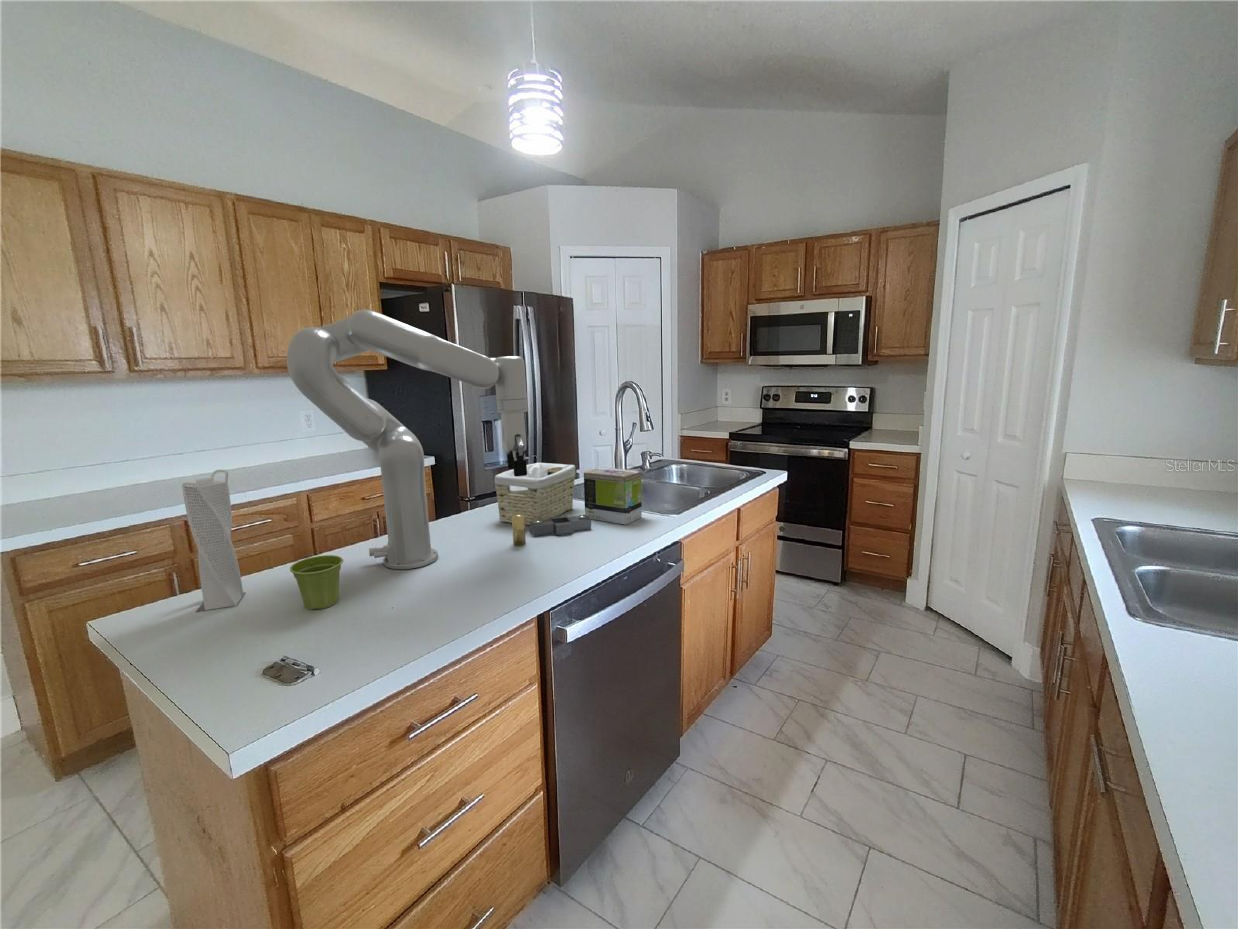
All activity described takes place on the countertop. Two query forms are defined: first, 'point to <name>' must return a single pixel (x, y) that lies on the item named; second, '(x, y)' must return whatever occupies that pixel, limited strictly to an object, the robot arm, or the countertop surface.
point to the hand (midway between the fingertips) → (517, 472)
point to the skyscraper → (213, 542)
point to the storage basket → (535, 492)
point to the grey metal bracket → (560, 525)
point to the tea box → (613, 495)
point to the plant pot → (318, 580)
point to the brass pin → (518, 529)
